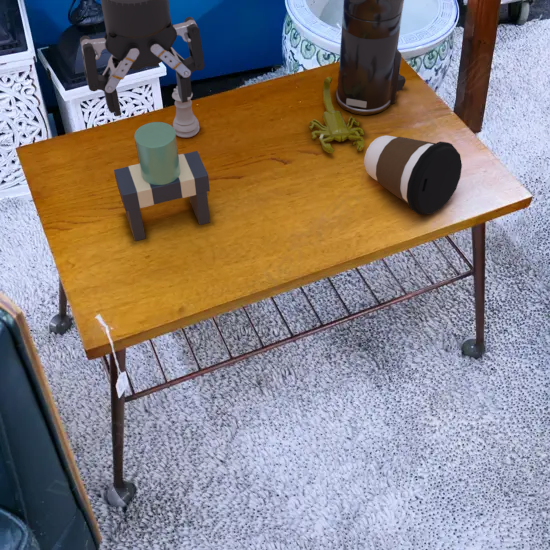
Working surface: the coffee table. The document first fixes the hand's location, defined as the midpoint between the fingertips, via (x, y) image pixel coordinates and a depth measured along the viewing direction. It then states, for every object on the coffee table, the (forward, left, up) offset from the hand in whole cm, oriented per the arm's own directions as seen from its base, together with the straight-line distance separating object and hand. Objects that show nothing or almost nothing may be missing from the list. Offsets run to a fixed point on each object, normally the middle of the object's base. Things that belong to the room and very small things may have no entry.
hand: (150, 105), depth 95 cm
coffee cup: (-33, +1, -17) cm, 37 cm away
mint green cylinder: (0, 0, -11) cm, 11 cm away
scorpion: (-31, -11, -20) cm, 39 cm away
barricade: (0, 0, -20) cm, 20 cm away
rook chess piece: (-8, -19, -20) cm, 29 cm away
